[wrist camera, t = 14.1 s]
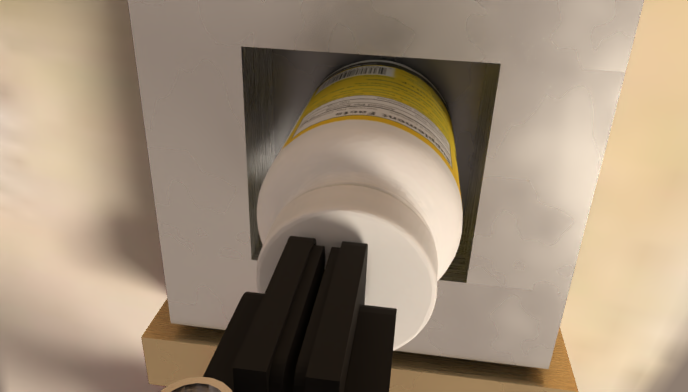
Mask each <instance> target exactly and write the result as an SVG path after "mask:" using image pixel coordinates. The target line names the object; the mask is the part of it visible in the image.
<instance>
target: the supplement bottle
mask: <svg viewBox="0 0 688 392" xmlns="http://www.w3.org/2000/svg"><path fill="white" fill-rule="evenodd" d="M462 219H463V210H462V200H461V192H460V184H459V175H458V167H457V158H456V150H455V141H454V132H453V126H452V121H451V117H450V113H449V110H448V108H447V105H446V103H445V101H444V99H443V97H442V96H441V94H440V93H439V91H438V90H437V89H436V88H435V86H434V85H433V84H432V83H431V82H430V81H429V80H428V79H427V78H425V77H424V76H423V75H421V74H420V73H419V72H417V71H415V70H413V69H411V68H410V67H407V66H405V65H403V64H400V63H397V62H392V61H387V60H365V61H360V62H356V63H352V64H349V65H347V66H344V67H342V68H340V69H338V70H336V71H335V72H333V73H332V74H331V75H329V76H328V77H327V78H326V79H325V80H324V81H323V82H322V83H321V84H320V85H319V86H318V87H317V88H316V90H315V91H314V92H313V94H312V95H311V97H310V99H309V100H308V102H307V104H306V105H305V107H304V109H303V111H302V113H301V114H300V116H299V118H298V120H297V121H296V123H295V125H294V127H293V128H292V130H291V132H290V134H289V135H288V137H287V139H286V141H285V143H284V144H283V146H282V148H281V150H280V151H279V153H278V155H277V157H276V158H275V160H274V162H273V163H272V165H271V167H270V169H269V170H268V172H267V174H266V176H265V179H264V181H263V183H262V186H261V189H260V193H259V197H258V203H257V224H258V231H259V235H260V239H261V242H262V244H263V247H262V249H261V251H260V254H259V257H258V261H257V267H256V285H257V291H258V293H264V294H265V291H266V289H267V287H268V284H269V282H270V280H271V277H272V275H273V273H274V271H275V268H276V266H277V264H278V261H279V259H280V257H281V254H282V252H283V250H284V247H285V245H286V243H287V240H288V238H289V237H290V236H298V237H307V238H315V239H316V245H320V246H324V247H325V267H326V264H327V260H328V257H329V254H330V250H331V248H332V247H339V248H340V247H341V243H342V241H347V242H356V243H366V244H368V255H367V271H366V288H365V305H370V306H379V307H388V308H396V309H397V313H396V324H395V335H394V345H393V351H394V350H396V349H398V348H400V347H401V346H403V345H405V344H406V343H408V342H409V341H411V340H412V339H413V338H414V337H416V335H417V334H418V333H419V332H420V331H421V330H422V329H423V328H424V326H425V325H426V324H427V322H428V320H429V319H430V317H431V315H432V312H433V309H434V306H435V302H436V298H437V281H438V280H439V279H440V278H441V277H442V275H443V274H444V273H445V272H446V270H447V269H448V267H449V266H450V264H451V262H452V261H453V259H454V257H455V255H456V252H457V250H458V247H459V243H460V239H461V234H462Z"/></svg>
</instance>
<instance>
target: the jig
mask: <svg viewBox="0 0 688 392" xmlns="http://www.w3.org/2000/svg"><path fill="white" fill-rule="evenodd" d="M643 3H644V0H128V6H129V14H130V21H131V29H132V36H133V44H134V51H135V59H136V66H137V74H138V81H139V89H140V96H141V104H142V111H143V119H144V126H145V134H146V141H147V149H148V156H149V164H150V171H151V179H152V186H153V194H154V201H155V209H156V216H157V224H158V231H159V239H160V246H161V254H162V261H163V269H164V276H165V284H166V291H167V300H166V301H165V303H164V304H163V306H162V307H161V309H160V310H159V312H158V313H157V314H156V316H155V317H154V319H153V320H152V322H151V323H150V325H149V326H148V328H147V329H146V331H145V332H144V334H143V335H142V337H141V338H142V344H143V350H144V356H145V362H146V368H147V374H148V381H149V384H153V385H161V386H169V385H171V384H172V383H174V382H177V381H180V380H183V379H186V378H192V377H203V375H204V373H205V371H206V369H207V367H208V365H209V363H210V361H211V359H212V357H213V355H214V353H215V351H216V349H217V346H218V344H219V342H220V340H221V338H222V336H223V334H224V332H225V330H226V328H227V326H228V324H229V322H230V320H231V318H232V316H233V314H234V312H235V309H236V307H237V305H238V303H239V301H240V299H241V297H242V296H243V294H244V293H245V292H255V293H258V291H257V285H256V267H257V261H258V257H259V254H260V251H261V249H262V247H263V244H262V242H261V239H260V235H259V231H258V224H257V203H258V197H259V193H260V189H261V186H262V183H263V181H264V179H265V176H266V174H267V172H268V170H269V169H270V167H271V165H272V163H273V162H274V160H275V158H276V157H277V155H278V153H279V151H280V150H281V148H282V146H283V144H284V143H285V141H286V139H287V137H288V135H289V134H290V132H291V130H292V128H293V127H294V125H295V123H296V121H297V120H298V118H299V116H300V114H301V113H302V111H303V109H304V107H305V105H306V104H307V102H308V100H309V99H310V97H311V95H312V94H313V92H314V91H315V90H316V88H317V87H318V86H319V85H320V84H321V83H322V82H323V81H324V80H325V79H326V78H327V77H328V76H329V75H331V74H332V73H333V72H335V71H336V70H338V69H340V68H342V67H344V66H347V65H349V64H352V63H356V62H360V61H365V60H387V61H392V62H397V63H400V64H403V65H405V66H407V67H410V68H411V69H413V70H415V71H417V72H419V73H420V74H421V75H423V76H424V77H425V78H427V79H428V80H429V81H430V82H431V83H432V84H433V85H434V86H435V88H436V89H437V90H438V91H439V93H440V94H441V96H442V97H443V99H444V101H445V103H446V105H447V108H448V110H449V113H450V117H451V121H452V126H453V132H454V141H455V150H456V158H457V167H458V175H459V184H460V192H461V200H462V210H463V219H462V234H461V239H460V243H459V247H458V250H457V252H456V255H455V257H454V259H453V261H452V262H451V264H450V266H449V267H448V269H447V270H446V272H445V273H444V274H443V275H442V277H441V278H440V279H439V280H438V281H437V298H436V302H435V306H434V309H433V312H432V315H431V317H430V319H429V320H428V322H427V324H426V325H425V326H424V328H423V329H422V330H421V331H420V332H419V333H418V334H417V335H416V337H414V338H413V339H412V340H411V341H409V342H408V343H406V344H405V345H403V346H401V347H400V348H398V349H396V350H394V351H393V356H392V367H391V377H390V388H389V392H578V389H577V385H576V382H575V378H574V375H573V372H572V368H571V365H570V361H569V358H568V354H567V351H566V347H565V344H564V340H563V337H562V334H561V330H560V323H561V319H562V316H563V312H564V308H565V304H566V300H567V296H568V292H569V288H570V285H571V281H572V277H573V273H574V269H575V265H576V261H577V258H578V254H579V250H580V246H581V242H582V238H583V234H584V231H585V227H586V223H587V219H588V215H589V211H590V207H591V204H592V200H593V196H594V192H595V188H596V184H597V180H598V177H599V173H600V169H601V165H602V161H603V157H604V153H605V149H606V146H607V142H608V138H609V134H610V130H611V126H612V122H613V119H614V115H615V111H616V107H617V103H618V99H619V95H620V92H621V88H622V84H623V80H624V76H625V72H626V68H627V65H628V61H629V57H630V53H631V49H632V45H633V41H634V38H635V34H636V30H637V26H638V22H639V18H640V14H641V10H642V7H643Z"/></svg>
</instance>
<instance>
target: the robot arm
mask: <svg viewBox="0 0 688 392" xmlns="http://www.w3.org/2000/svg"><path fill="white" fill-rule="evenodd" d="M367 255H368V244H366V243H356V242H347V241H342V243H341V247H340V248H339V247H332V248H331V250H330V254H329V257H328V260H327V264H326V267H325V247H324V246H320V245H316V239H315V238H307V237H298V236H290V237H289V238H288V240H287V243H286V245H285V247H284V250H283V252H282V254H281V257H280V259H279V261H278V264H277V266H276V268H275V271H274V273H273V275H272V277H271V280H270V282H269V284H268V287H267V289H266V291H265V294H264V293H255V292H245V293H244V294H243V296H242V297H241V299H240V301H239V303H238V305H237V307H236V309H235V312H234V314H233V316H232V318H231V320H230V322H229V324H228V326H227V328H226V330H225V332H224V334H223V336H222V338H221V340H220V342H219V344H218V346H217V349H216V351H215V353H214V355H213V357H212V359H211V361H210V363H209V365H208V367H207V369H206V371H205V373H204V375H203V377H192V378H186V379H183V380H180V381H177V382H174V383H172V384H171V385H169V386H167V387H165V388H164V389H162V390H161V391H160V392H389V388H390V377H391V367H392V356H393V345H394V335H395V324H396V313H397V309H396V308H388V307H379V306H370V305H365V288H366V271H367Z"/></svg>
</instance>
